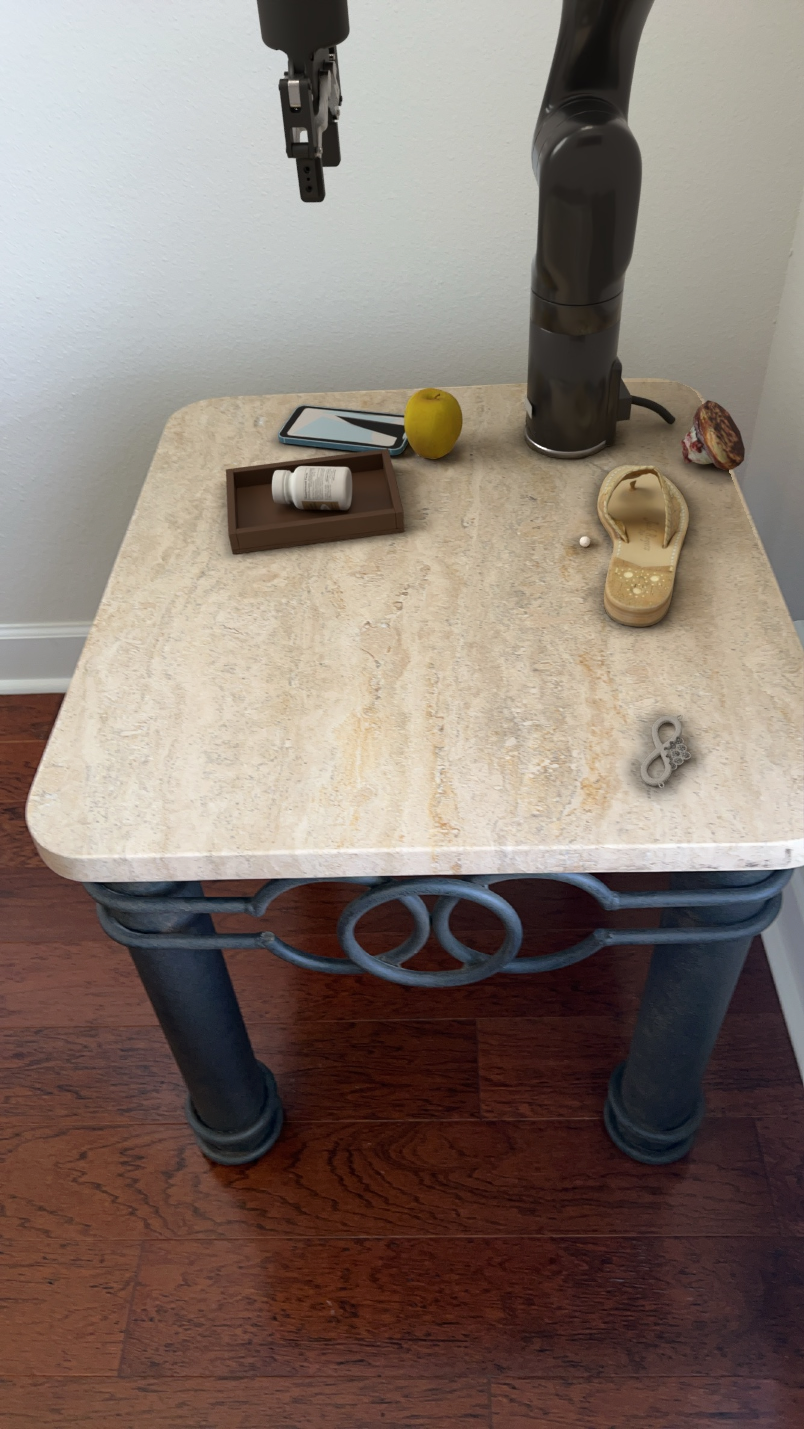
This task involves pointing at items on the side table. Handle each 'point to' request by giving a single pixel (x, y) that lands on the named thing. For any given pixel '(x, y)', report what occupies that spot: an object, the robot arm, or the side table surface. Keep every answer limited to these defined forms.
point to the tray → (286, 525)
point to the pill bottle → (314, 487)
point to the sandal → (641, 542)
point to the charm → (666, 751)
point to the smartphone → (345, 429)
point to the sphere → (585, 542)
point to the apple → (432, 422)
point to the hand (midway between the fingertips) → (321, 182)
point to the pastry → (713, 438)
